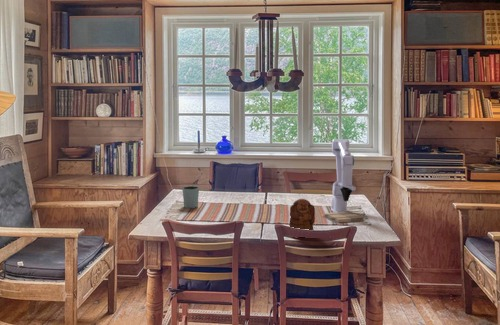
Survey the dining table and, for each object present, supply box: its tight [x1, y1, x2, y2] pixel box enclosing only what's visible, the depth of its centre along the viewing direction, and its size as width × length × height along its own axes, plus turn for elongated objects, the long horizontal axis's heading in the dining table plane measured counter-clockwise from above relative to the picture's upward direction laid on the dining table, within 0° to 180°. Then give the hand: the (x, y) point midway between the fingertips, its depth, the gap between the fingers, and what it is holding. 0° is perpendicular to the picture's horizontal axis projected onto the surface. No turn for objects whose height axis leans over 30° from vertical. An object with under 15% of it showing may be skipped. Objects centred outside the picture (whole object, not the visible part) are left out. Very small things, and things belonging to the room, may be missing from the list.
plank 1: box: [323, 211, 342, 219], centre depth 255 cm, size 7×8×2 cm
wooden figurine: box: [288, 198, 316, 231], centre depth 220 cm, size 12×6×18 cm, turn 103°
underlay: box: [321, 215, 365, 224], centre depth 253 cm, size 16×18×1 cm
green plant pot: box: [181, 185, 200, 209], centre depth 277 cm, size 10×10×12 cm
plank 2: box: [331, 215, 352, 224], centre depth 248 cm, size 7×8×2 cm
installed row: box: [337, 210, 364, 222], centre depth 255 cm, size 15×8×2 cm, turn 22°
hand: (345, 200), depth 254 cm, fingers closed
